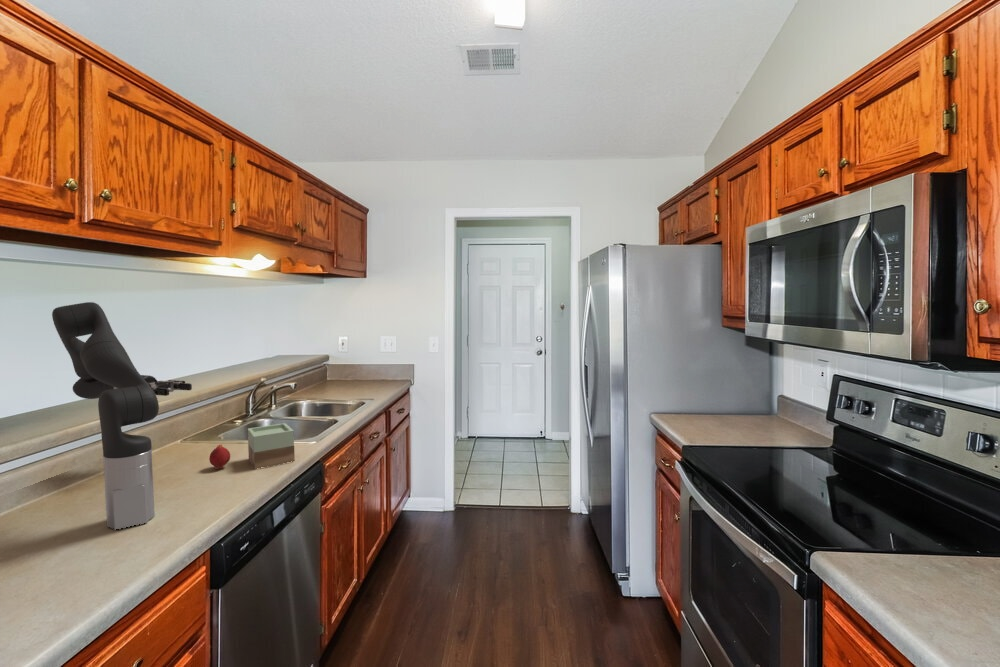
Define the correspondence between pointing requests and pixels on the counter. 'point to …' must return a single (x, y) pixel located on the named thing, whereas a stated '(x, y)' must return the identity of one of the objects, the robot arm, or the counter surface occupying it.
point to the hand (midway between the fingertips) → (179, 389)
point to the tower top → (270, 437)
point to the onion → (219, 456)
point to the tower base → (271, 456)
